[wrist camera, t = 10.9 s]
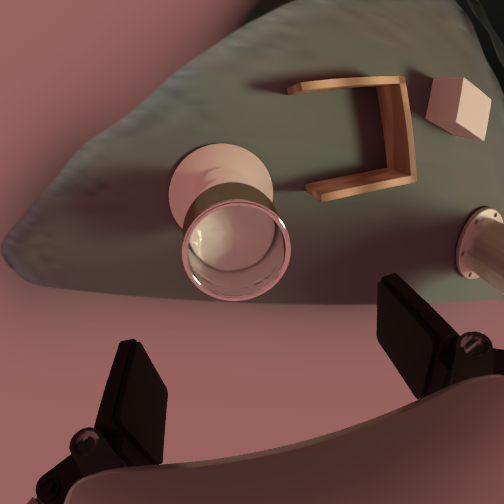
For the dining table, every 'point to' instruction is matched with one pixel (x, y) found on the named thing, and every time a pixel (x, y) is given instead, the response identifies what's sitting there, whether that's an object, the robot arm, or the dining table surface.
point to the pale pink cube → (459, 108)
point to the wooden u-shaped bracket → (395, 138)
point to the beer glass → (233, 238)
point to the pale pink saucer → (207, 161)
